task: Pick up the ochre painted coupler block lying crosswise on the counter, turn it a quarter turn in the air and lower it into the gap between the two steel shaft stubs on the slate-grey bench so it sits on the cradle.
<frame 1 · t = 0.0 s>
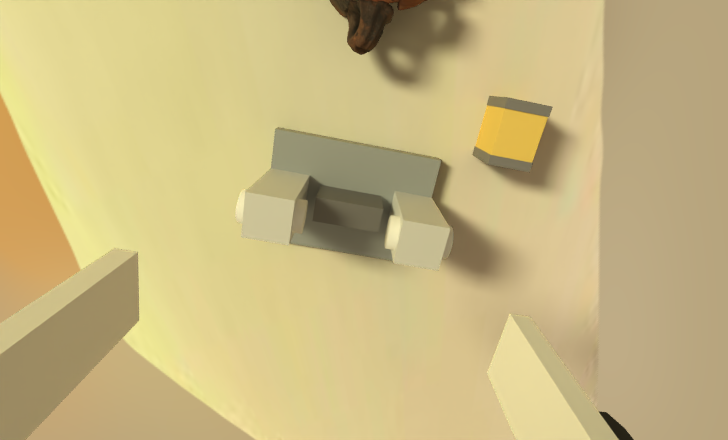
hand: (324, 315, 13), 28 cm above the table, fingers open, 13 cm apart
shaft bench: (349, 197, 41), on the table
coupler: (499, 129, 38), on the table
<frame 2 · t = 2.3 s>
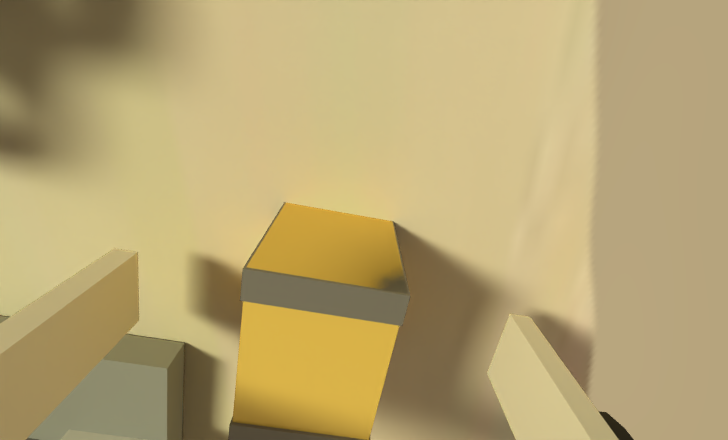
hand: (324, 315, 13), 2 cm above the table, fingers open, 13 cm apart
coupler: (327, 281, 15), on the table
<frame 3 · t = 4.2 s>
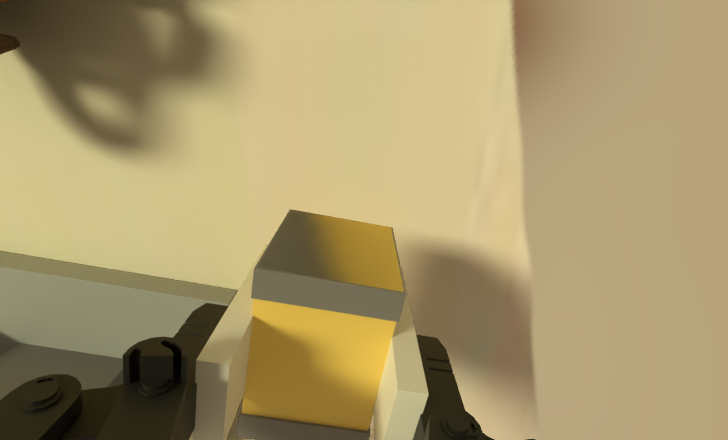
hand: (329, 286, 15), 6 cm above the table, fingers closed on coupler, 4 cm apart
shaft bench: (93, 351, 23), on the table
coupler: (329, 284, 16), point 5 cm above the table, touching gripper
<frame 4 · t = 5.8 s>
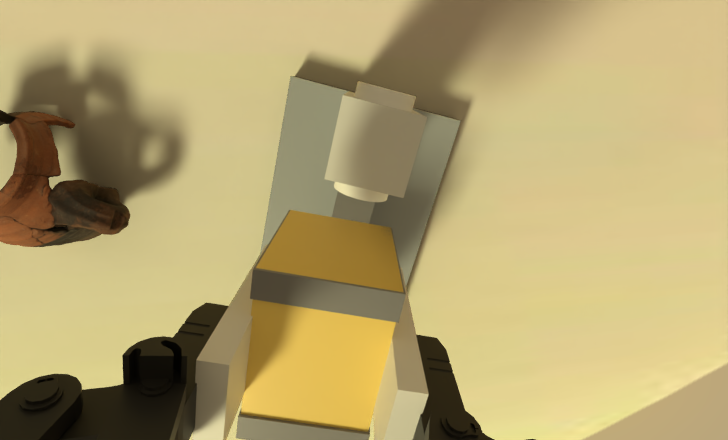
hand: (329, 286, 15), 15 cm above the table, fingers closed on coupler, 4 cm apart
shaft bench: (349, 207, 30), on the table
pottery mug: (81, 180, 29), on the table
coupler: (329, 284, 16), point 14 cm above the table, touching gripper
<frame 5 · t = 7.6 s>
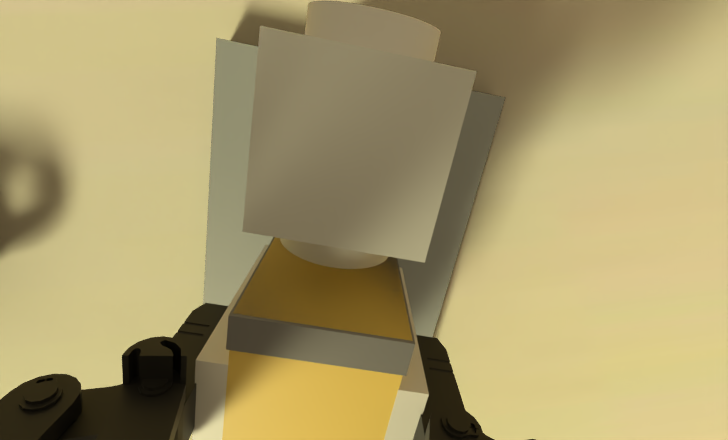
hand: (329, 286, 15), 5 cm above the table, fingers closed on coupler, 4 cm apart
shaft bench: (334, 242, 19), on the table
coupler: (324, 311, 14), point 6 cm above the table, touching gripper, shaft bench
when the fingers open (5 cm above the table, at t = 7.6 s): coupler stays where it is, resting on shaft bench.
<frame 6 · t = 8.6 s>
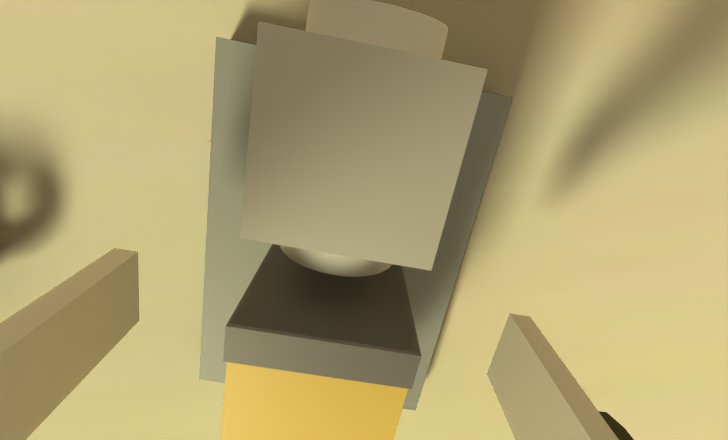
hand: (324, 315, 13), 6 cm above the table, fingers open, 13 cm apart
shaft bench: (336, 245, 19), on the table
coupler: (326, 317, 13), point 6 cm above the table, touching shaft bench
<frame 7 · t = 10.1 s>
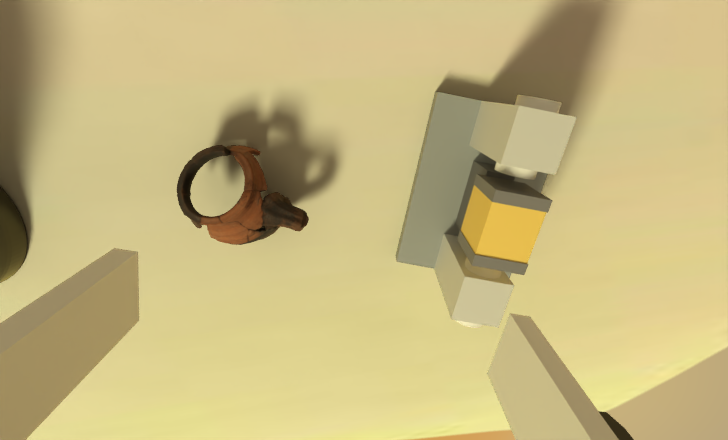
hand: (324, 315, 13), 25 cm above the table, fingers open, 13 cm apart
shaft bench: (472, 191, 37), on the table
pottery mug: (258, 194, 38), on the table
coupler: (489, 212, 32), point 6 cm above the table, touching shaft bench
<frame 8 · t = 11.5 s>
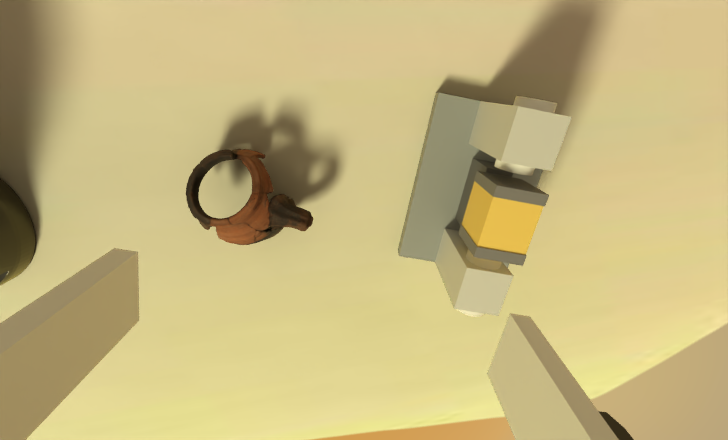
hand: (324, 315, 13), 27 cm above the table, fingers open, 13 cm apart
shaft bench: (471, 187, 39), on the table
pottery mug: (262, 195, 40), on the table
coupler: (489, 206, 34), point 6 cm above the table, touching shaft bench
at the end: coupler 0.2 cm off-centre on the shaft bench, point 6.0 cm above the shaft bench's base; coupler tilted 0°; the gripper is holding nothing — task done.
